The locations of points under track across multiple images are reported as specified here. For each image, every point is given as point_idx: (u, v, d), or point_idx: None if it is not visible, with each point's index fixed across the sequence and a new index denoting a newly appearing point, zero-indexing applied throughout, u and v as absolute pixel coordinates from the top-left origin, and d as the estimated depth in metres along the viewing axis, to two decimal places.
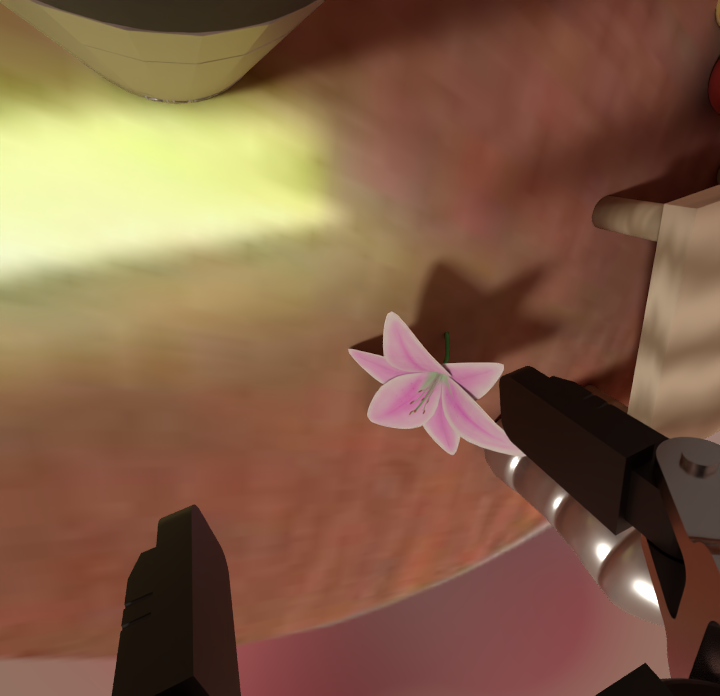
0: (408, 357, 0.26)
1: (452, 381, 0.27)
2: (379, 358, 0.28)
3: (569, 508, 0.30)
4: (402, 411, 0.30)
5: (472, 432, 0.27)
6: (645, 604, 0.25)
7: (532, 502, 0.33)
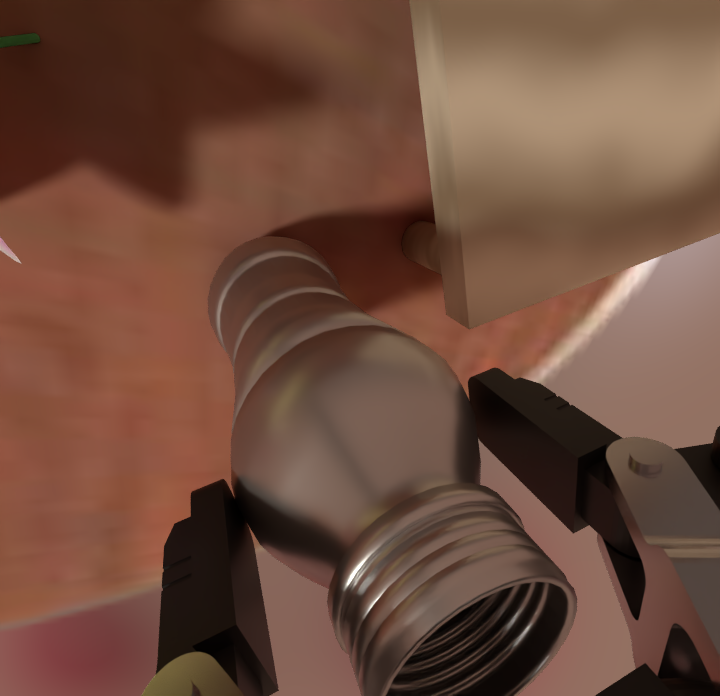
0: None
1: None
2: None
3: (241, 347, 0.14)
4: None
5: None
6: (280, 530, 0.09)
7: None
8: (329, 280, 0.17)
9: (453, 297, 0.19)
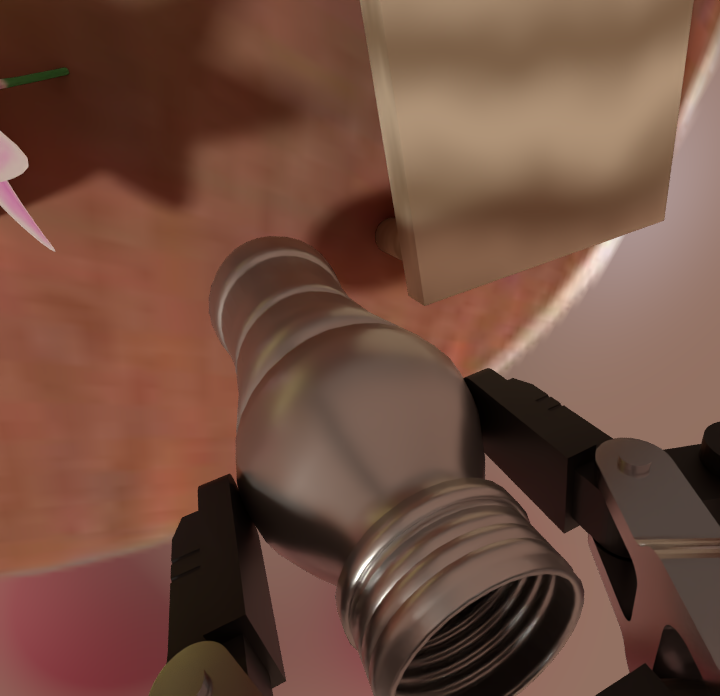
0: None
1: None
2: None
3: (244, 346, 0.14)
4: None
5: None
6: (287, 527, 0.09)
7: None
8: (331, 279, 0.17)
9: (412, 279, 0.23)
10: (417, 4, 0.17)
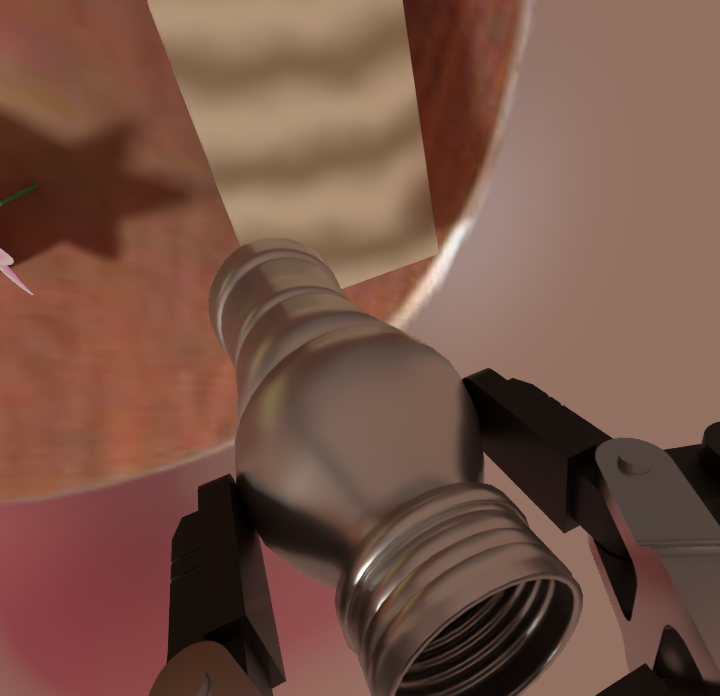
0: None
1: None
2: None
3: (243, 348, 0.14)
4: None
5: None
6: (286, 530, 0.09)
7: None
8: (330, 281, 0.17)
9: None
10: (228, 151, 0.31)
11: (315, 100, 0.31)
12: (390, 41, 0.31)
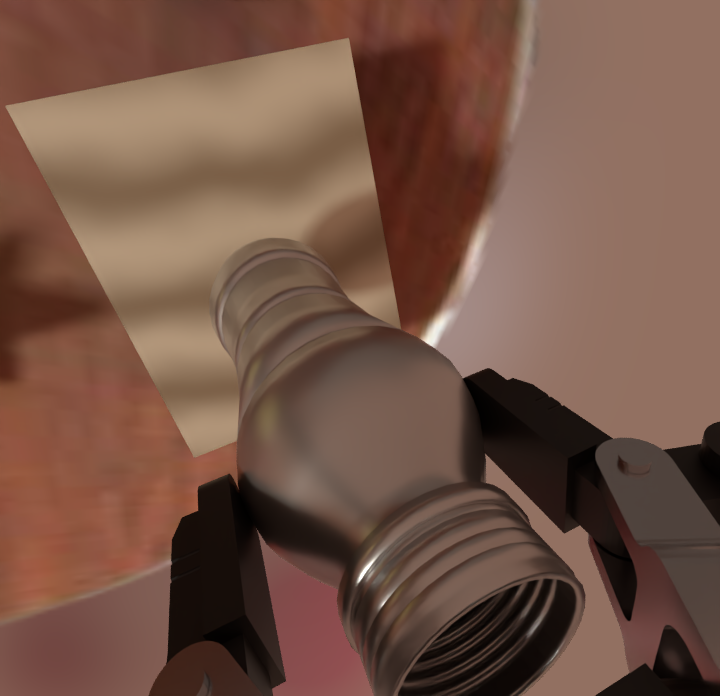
0: None
1: None
2: None
3: (244, 348, 0.14)
4: None
5: None
6: (288, 530, 0.09)
7: None
8: (331, 281, 0.17)
9: None
10: (133, 280, 0.24)
11: (247, 215, 0.25)
12: (344, 143, 0.25)
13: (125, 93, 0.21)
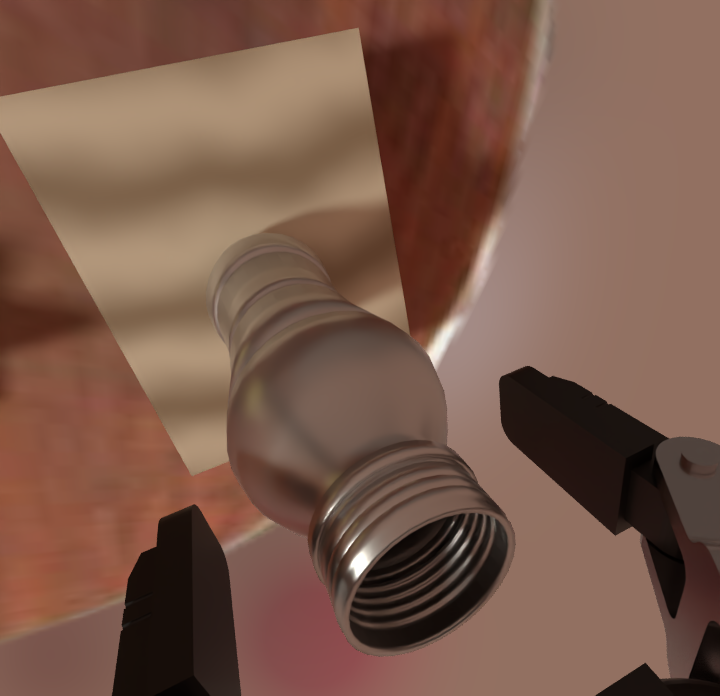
0: None
1: None
2: None
3: (236, 333, 0.15)
4: None
5: None
6: (269, 487, 0.10)
7: None
8: (319, 274, 0.18)
9: None
10: (125, 290, 0.22)
11: (248, 219, 0.23)
12: (352, 142, 0.23)
13: (115, 86, 0.19)
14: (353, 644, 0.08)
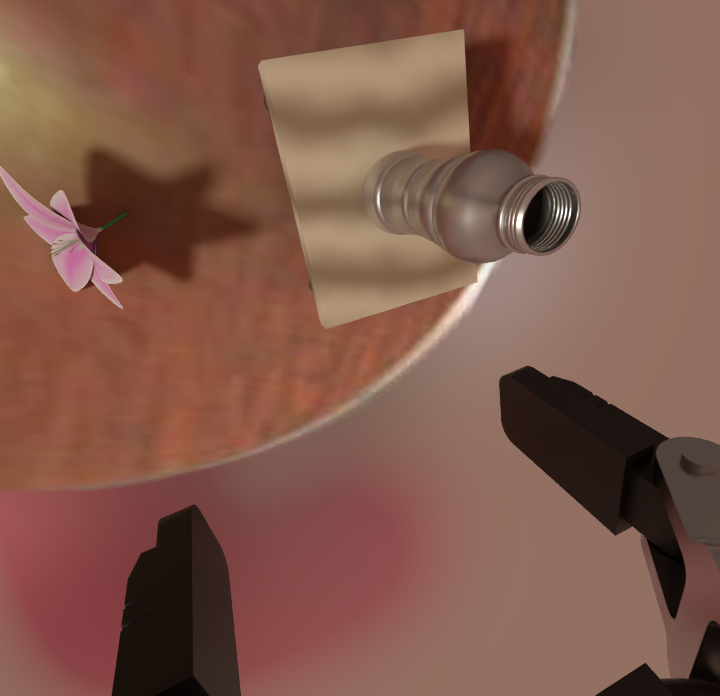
0: (33, 206, 0.32)
1: (81, 230, 0.33)
2: (36, 219, 0.35)
3: (417, 180, 0.28)
4: (74, 270, 0.37)
5: (98, 271, 0.33)
6: (467, 213, 0.23)
7: (394, 212, 0.31)
8: None
9: (320, 314, 0.41)
10: (310, 185, 0.35)
11: (386, 146, 0.36)
12: (452, 101, 0.37)
13: (328, 57, 0.32)
14: (521, 238, 0.20)
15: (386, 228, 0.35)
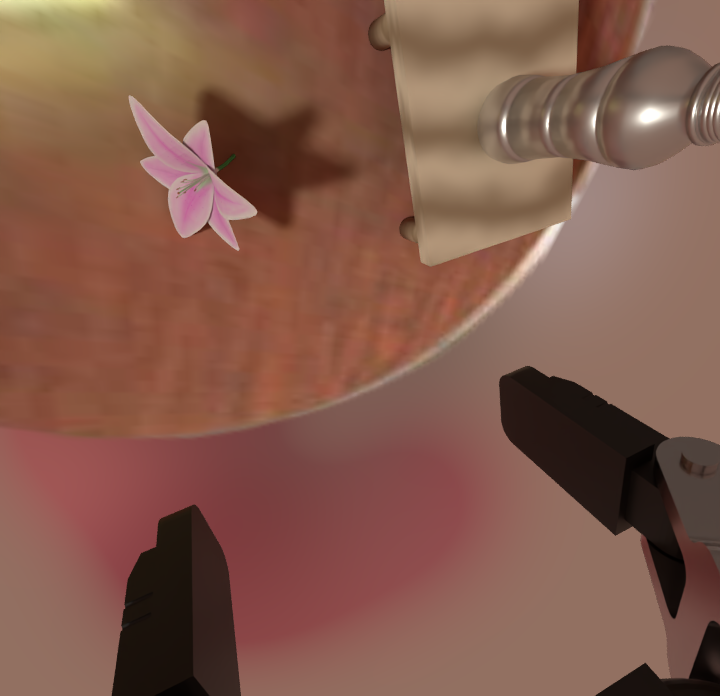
0: (162, 144, 0.33)
1: None
2: (156, 160, 0.35)
3: (565, 92, 0.28)
4: (190, 213, 0.37)
5: (226, 207, 0.34)
6: (647, 108, 0.23)
7: (527, 132, 0.32)
8: None
9: (423, 252, 0.42)
10: (428, 115, 0.35)
11: (500, 74, 0.36)
12: (564, 26, 0.36)
13: None
14: None
15: (506, 155, 0.35)
